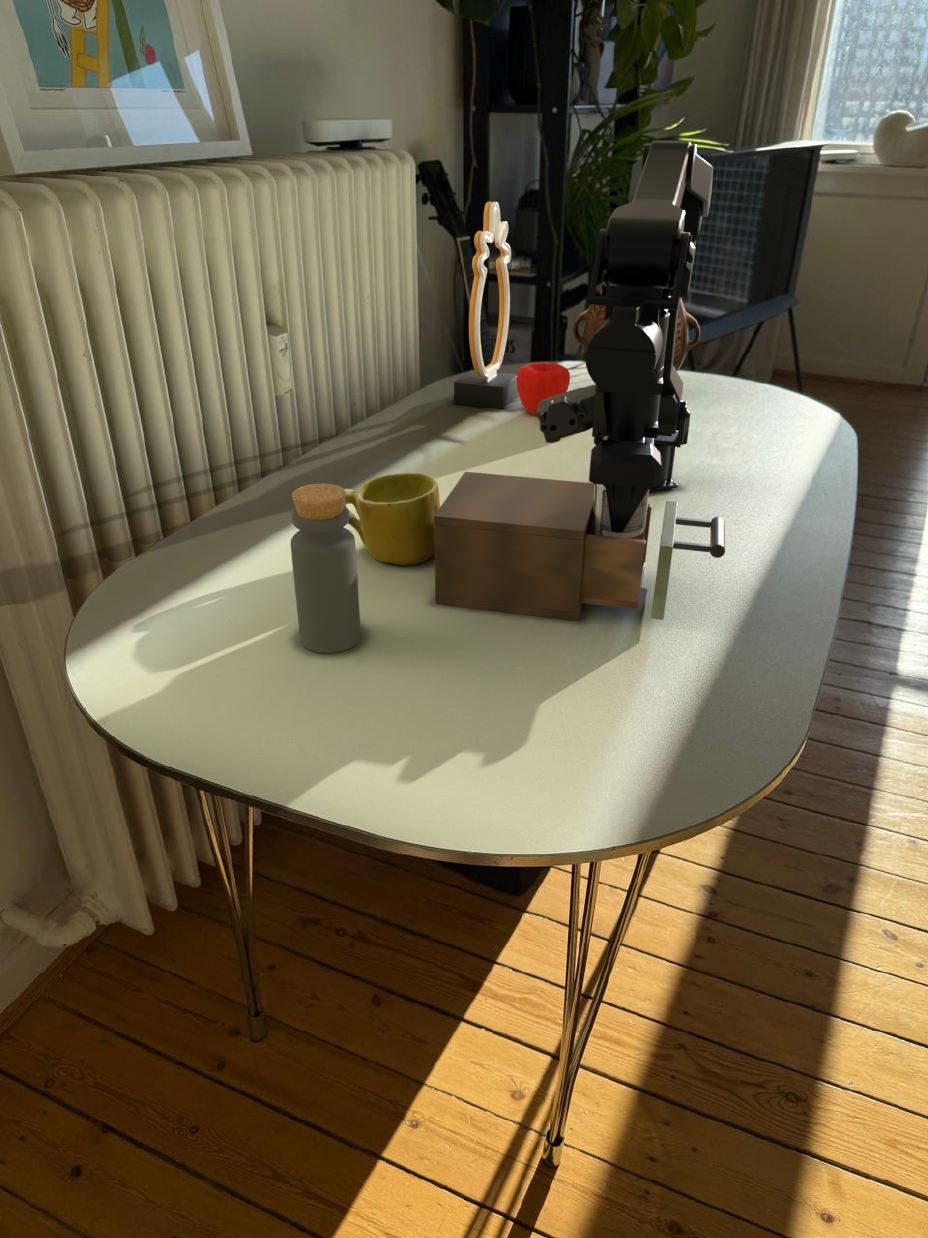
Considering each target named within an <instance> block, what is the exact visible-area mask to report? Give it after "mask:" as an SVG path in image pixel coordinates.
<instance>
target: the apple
mask: <svg viewBox="0 0 928 1238" xmlns="http://www.w3.org/2000/svg"><path fill="white" fill-rule="evenodd" d="M516 375H517V390H518V397H519V400H520V403H521V405H522V406H523V408H524V409H525V412H527V413H529V414H531V415H533V416H538V415H537V409H538V405H539V403H540V401H542V400H544V399H546V398H549V397H552V396H555V395H558V394H561V393H565V392H568V389H569V387H570V384H571V383H570V382H571V373H570V371H569V369H568V368H567V367H565V366H564V365H562V364H560V363H556V362H551V361H539V362H538V361H535V362H531V363H527V364H524V365H522V366H519V369H518V371H517V374H516Z"/></svg>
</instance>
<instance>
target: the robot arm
mask: <svg viewBox="0 0 928 1238" xmlns="http://www.w3.org/2000/svg"><path fill="white" fill-rule="evenodd" d="M713 176H714V167H713V165H712V164H710V163H709V162H707V161H706V160H705V159H704V158H702V157H701V156H700V155H699V154H698V153H697V144H696V143H691V141H689V140H653V141H651V143H648V142H647V143H645V145H644V148H643V155H642V157H641V158H639V160H638V161H636V162H635V163H634V164H633V165H632V169H631V178H630V186H629V193H628V200H627V201H628V203H627V204H624V205H620V206H618V207H616V208H615V209H614V210H613V212H612V213H611V214H610V216H609V218H608V222H607V225H606V228H601V229H600V230H599V234H598V238H597V243H596V249H595V255H594V261H593V270H592V274H591V280H590V286H589V293H588V299H587V305H589V306H590V305H602V306H606V308H605V317H604V321H603V323H602V325H601V327H600V328H599V330H598V331H597V332H596V334H595V335H594V337H593V338H592V339H591V341H590V343H589V346H588V348H587V351H586V356H585V357H584V359H585V367H586V371H587V374H588V376H589V377H590V379H591V381H592V382H593V383H594V384H592V385H587V386H583V387H579V388H575V389H571V390H569V391H568V390H567V392H565V393H561V394H558V395H555V396H552V397H549V398H546V399H544V400H542V401H540V403H539V405H538V409H537V415H536V416H537V418H538V421H539V431H540V432H541V433H542V434H543V437H544V440H545V443H547V444H553V443H557V442H560V441H561V439H564V438H567V437H570V436H575V435H578V434H581V433H585V432H587V431H589V430H591V429H592V431H591V437H592V438H593V444H594V445H595V446H593V447H592V448H591V450H590V461H589V473H588V483H594V484H602V485H603V486H604V487H605V488H606V494H607V501H608V509H609V516H610V524H611V531H612V532H616V533H622V532H623V531H624V529H625V528H626V526H627V524H628V523H629V521H630V519H631V518H632V516H633V514H634V513H635V511H636V509H637V507H638V506H639V504H640V503H641V501H642V499H643V498H644V496H645V495H646V493H647V492H648V490H649V493H651V492H657V491H665V490H671V489H677V488H678V485H679V484H678V483H677V482H676V481H674V480H672V478H673V471H674V462H675V454H676V448H681V447H682V446H683V445H687V444H688V439H689V431H690V424H691V423H690V422H691V412H690V410H689V409H688V406H687V403H688V402H687V400H682V399H683V391H684V390H683V389H684V381H683V380H682V378H681V376H680V375H679V373H678V371H676V369H675V368H674V366H673V359H674V349H675V340H676V330H677V320H678V310H679V305H680V300H681V299H688V298H689V293H690V292H689V291H690V286H691V279H692V273H693V268H694V263H695V262H694V261H695V254H696V246H695V245H694V244H695V243H696V241H697V240H698V238H699V235H700V230H701V225H702V221H703V218H708V217H709V213H710V206H711V199H712V192H713V191H712V190H713ZM603 280H604V281H603ZM603 283H605V285H602V284H603ZM601 285H602V292H600V289H601Z"/></svg>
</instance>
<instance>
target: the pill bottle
mask: <svg viewBox="0 0 928 1238" xmlns="http://www.w3.org/2000/svg"><path fill="white" fill-rule="evenodd" d="M649 495H650V492H649V490H648V492H647V493H646V495H645V496H644V498H643V499H642V501H641V503H640V504H639V506H638V507H637V509H636V511H635V513H634V514H633V516H632V518H631V519H630V521H629V523H628V524H627V526H626V528H625V529H624V531H623V532H622V533H616V532H612V531H611V524H610V516H609V509H608V501H607V494H606V488H605V487H604V486H603V485H602V484H594V497H593V514H592V531H591V534H592V535H601V536H611V537H621V538H631V539H640V540H644V534H645V525H646V515H647V505H648V504H649Z"/></svg>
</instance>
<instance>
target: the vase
mask: <svg viewBox="0 0 928 1238" xmlns="http://www.w3.org/2000/svg"><path fill="white" fill-rule="evenodd" d="M602 285H605V283H604V282H602V284H601V289H600V292H602ZM605 308H606V306H602V305H589V307H588V308H587V309H585V310H584V311H583V312H581V313H579V315H578V316H577V317H576V318H575V320H574V323H573V325H572V326H573V327H572V333H573V338H574V340H575V341H576V343H578V345H580V346H581V347H582V348H583V352H584V356H585V357H586V351H587V348H588V346H589V343H590V341H591V339H592V338H593V337H594V335H595V334H596V332H597V331H598V330H599V328H600V327H601V325H602V323H603V321H604V317H605ZM583 320H584V328H583V335H582V334H580V332H579V331H580V329H579V327H580V324H581V322H582V321H583ZM689 324H691V325H692V326H693V327H694V331H695V337H694V339H693V340H690V337H689V336H690V335H689ZM700 338H701V327H700V325H699V323H698V321H697V319H696V318H695V317H694V316H693V315H692V314H690V313H688V312H687V310H686V309H685V305H684V302H683V298H681V300H680V305H679V310H678V320H677V330H676V340H675V349H674V359H673V366H674V368H675V369H676V371H677V372H678V371H679V370H680V369H681V368H682V365H683V363H684V361H685V359H686V356H687V355H688V353H689V351H690V350H692V349H693V348H694V347H695V346H696V345H697V344H698V343H699V341H700V340H701V339H700Z"/></svg>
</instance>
